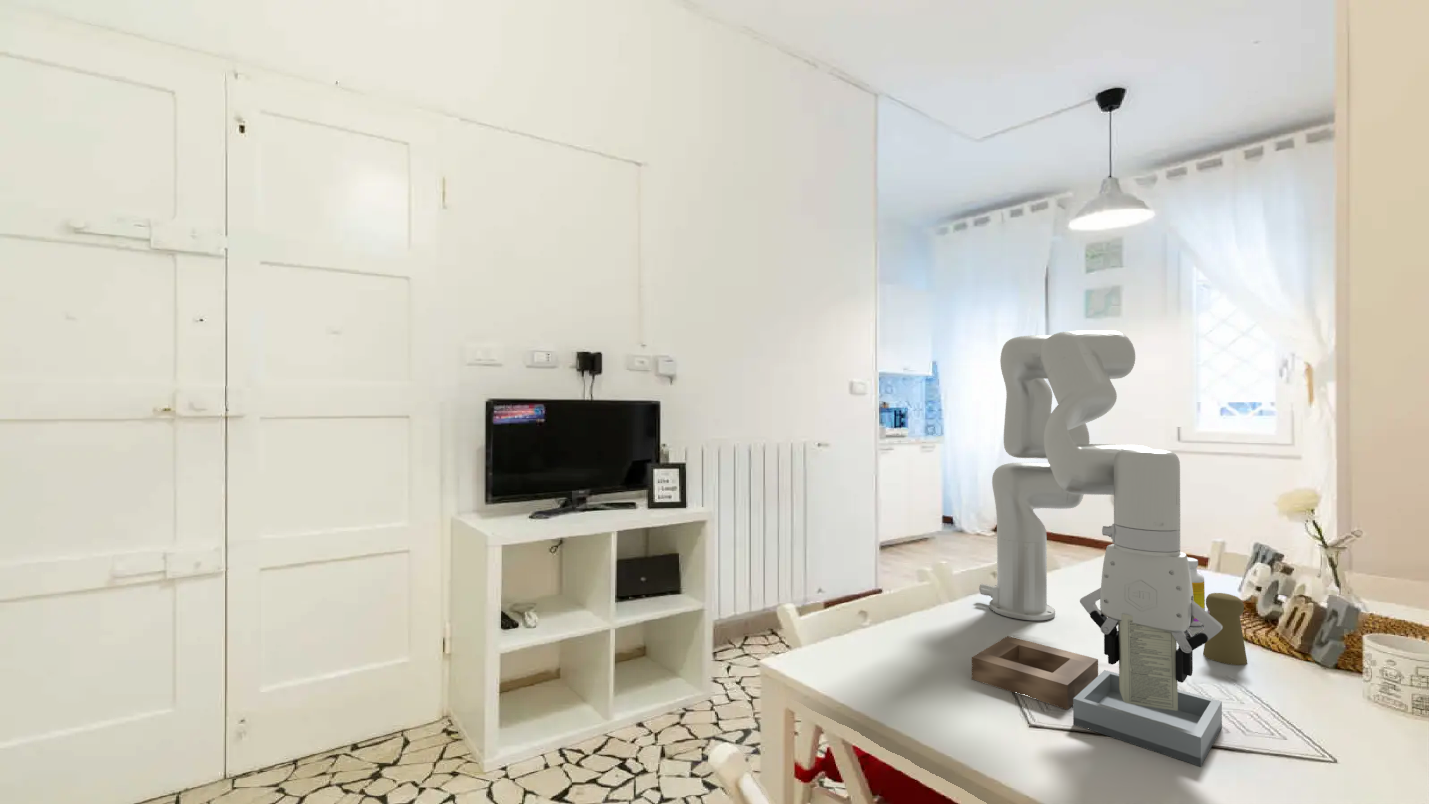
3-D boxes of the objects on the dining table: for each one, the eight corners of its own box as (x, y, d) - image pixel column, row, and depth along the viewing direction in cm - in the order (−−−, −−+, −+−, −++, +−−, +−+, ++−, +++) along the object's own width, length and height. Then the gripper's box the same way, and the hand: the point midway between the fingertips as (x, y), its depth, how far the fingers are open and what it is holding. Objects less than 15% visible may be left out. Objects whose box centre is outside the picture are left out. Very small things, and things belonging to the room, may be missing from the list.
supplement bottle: (1209, 622, 128) (1208, 559, 128) (1199, 629, 124) (1199, 564, 124) (1170, 614, 133) (1169, 553, 134) (1159, 620, 129) (1159, 557, 129)
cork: (1255, 666, 106) (1255, 600, 106) (1215, 663, 107) (1214, 598, 108) (1234, 653, 112) (1233, 590, 112) (1195, 650, 113) (1195, 588, 114)
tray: (1073, 724, 86) (1073, 698, 86) (1104, 693, 96) (1104, 670, 96) (1201, 766, 76) (1200, 737, 76) (1221, 727, 86) (1221, 701, 86)
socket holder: (971, 679, 101) (971, 657, 101) (1007, 655, 110) (1007, 635, 110) (1067, 709, 91) (1067, 685, 91) (1098, 681, 100) (1098, 659, 100)
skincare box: (1170, 699, 87) (1170, 610, 87) (1178, 713, 83) (1178, 619, 83) (1117, 690, 89) (1116, 604, 90) (1122, 703, 85) (1121, 613, 86)
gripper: (1067, 534, 90) (1067, 659, 90) (1222, 554, 77) (1223, 700, 77) (1084, 527, 95) (1085, 645, 95) (1232, 545, 83) (1233, 682, 82)
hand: (1146, 669), depth 86 cm, fingers closed on skincare box, 7 cm apart
